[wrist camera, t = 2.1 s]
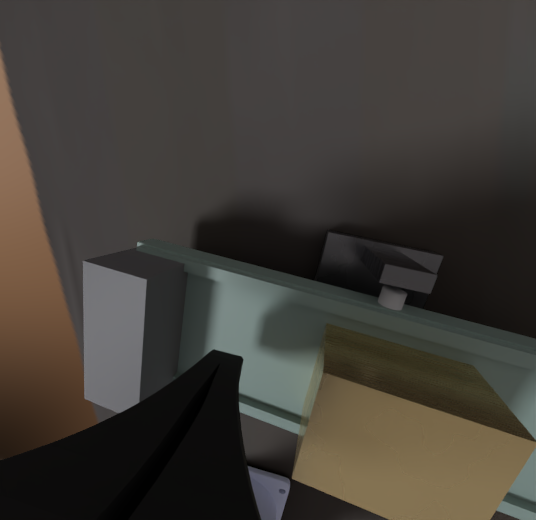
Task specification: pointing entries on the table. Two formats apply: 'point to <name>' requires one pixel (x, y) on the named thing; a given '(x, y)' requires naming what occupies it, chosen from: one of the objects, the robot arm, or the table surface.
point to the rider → (406, 432)
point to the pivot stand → (377, 267)
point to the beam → (270, 336)
